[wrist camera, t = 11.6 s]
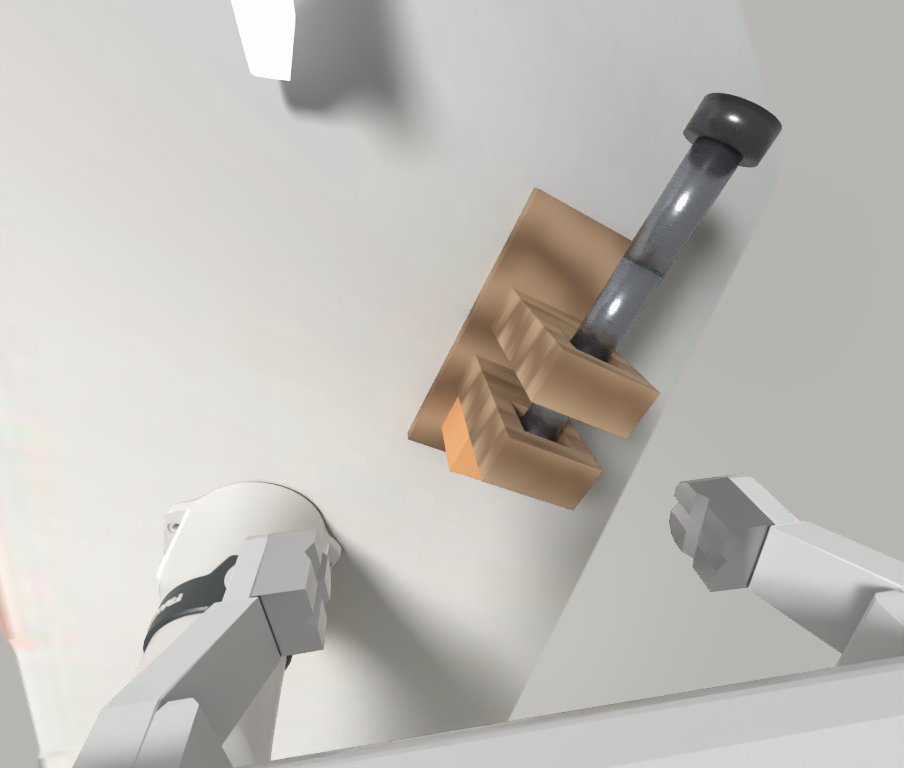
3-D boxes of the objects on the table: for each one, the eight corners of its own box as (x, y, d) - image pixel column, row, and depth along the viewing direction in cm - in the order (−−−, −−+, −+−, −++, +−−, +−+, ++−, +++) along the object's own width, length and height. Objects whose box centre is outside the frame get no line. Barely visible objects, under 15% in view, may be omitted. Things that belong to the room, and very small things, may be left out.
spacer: (500, 447, 49) (517, 492, 43) (441, 426, 47) (449, 470, 41) (519, 417, 48) (539, 458, 42) (459, 394, 46) (470, 434, 40)
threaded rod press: (506, 465, 52) (547, 577, 39) (407, 432, 49) (415, 542, 35) (645, 249, 43) (761, 300, 29) (534, 187, 39) (610, 213, 26)
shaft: (543, 437, 40) (562, 472, 36) (495, 419, 39) (508, 453, 35) (742, 134, 31) (799, 134, 27) (688, 96, 29) (739, 89, 25)
